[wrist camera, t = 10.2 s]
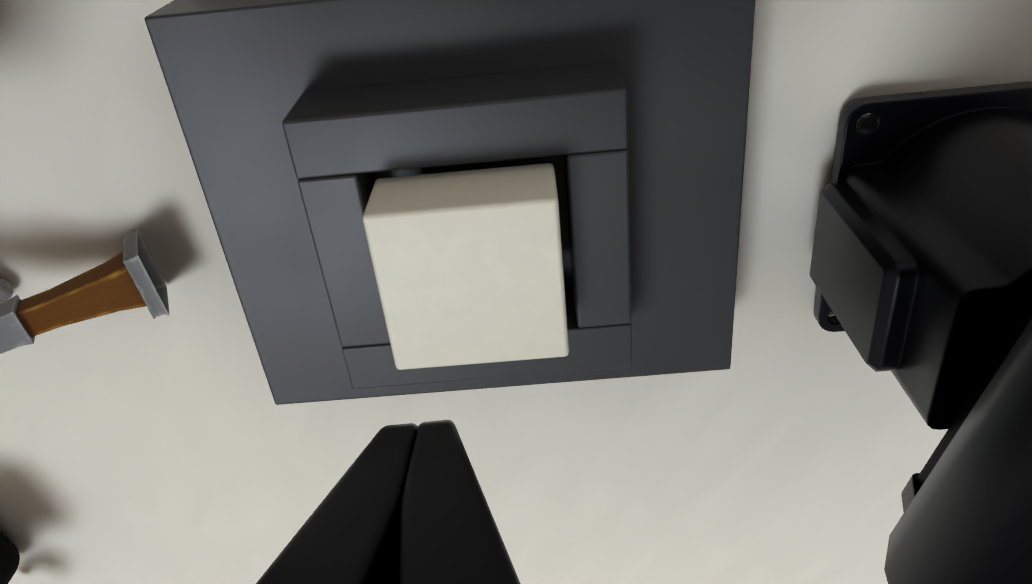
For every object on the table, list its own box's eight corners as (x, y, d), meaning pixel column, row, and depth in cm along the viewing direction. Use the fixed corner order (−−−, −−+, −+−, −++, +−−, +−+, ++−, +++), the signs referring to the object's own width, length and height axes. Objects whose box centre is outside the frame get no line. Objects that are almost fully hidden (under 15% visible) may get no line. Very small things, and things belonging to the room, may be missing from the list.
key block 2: (730, -63, 17) (788, -29, 13) (712, 321, 22) (749, 416, 18) (182, -6, 17) (102, 41, 14) (294, 355, 22) (256, 453, 19)
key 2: (553, 160, 15) (558, 199, 14) (564, 310, 17) (569, 358, 16) (374, 176, 16) (360, 216, 14) (405, 323, 17) (395, 371, 16)
